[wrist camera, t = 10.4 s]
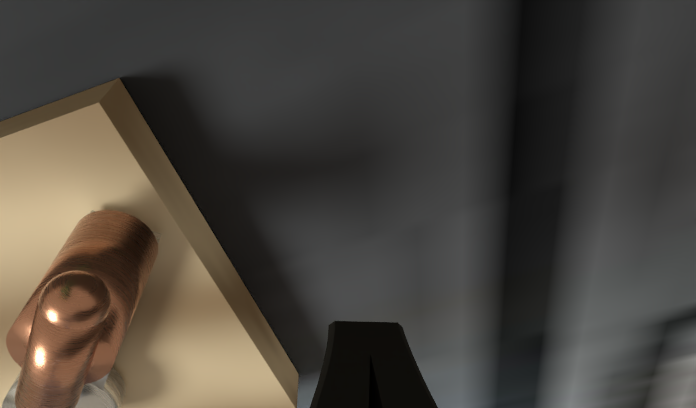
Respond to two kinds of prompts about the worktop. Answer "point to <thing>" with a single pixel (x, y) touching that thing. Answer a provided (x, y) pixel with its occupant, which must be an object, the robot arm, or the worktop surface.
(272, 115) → the worktop surface
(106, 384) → the crank
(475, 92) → the worktop surface
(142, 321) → the crank base
